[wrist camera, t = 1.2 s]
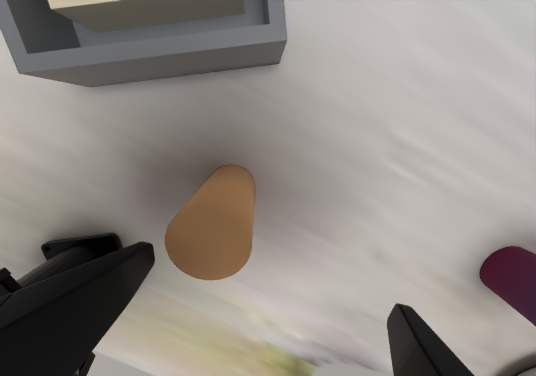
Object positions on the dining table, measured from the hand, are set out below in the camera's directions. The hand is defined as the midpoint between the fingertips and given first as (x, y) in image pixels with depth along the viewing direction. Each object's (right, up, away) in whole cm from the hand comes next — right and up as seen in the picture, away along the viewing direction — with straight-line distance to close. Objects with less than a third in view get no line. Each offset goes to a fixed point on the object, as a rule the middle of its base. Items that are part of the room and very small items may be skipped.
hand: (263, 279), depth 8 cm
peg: (-3, +3, +11) cm, 12 cm away
